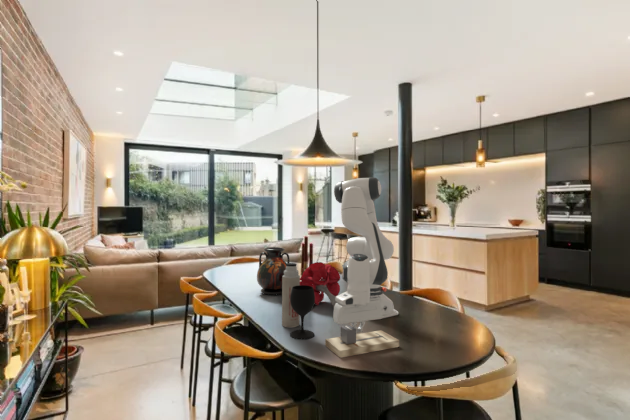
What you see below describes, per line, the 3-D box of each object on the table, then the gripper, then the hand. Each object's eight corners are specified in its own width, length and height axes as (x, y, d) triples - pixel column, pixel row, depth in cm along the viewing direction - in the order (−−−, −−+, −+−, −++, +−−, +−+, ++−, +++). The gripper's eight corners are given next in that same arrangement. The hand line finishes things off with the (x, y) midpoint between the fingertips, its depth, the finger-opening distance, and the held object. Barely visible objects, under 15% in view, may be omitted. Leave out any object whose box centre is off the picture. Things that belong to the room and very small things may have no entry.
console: (381, 336, 146) (381, 330, 146) (399, 346, 135) (399, 340, 135) (325, 345, 135) (325, 338, 135) (340, 357, 124) (340, 350, 124)
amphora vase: (253, 296, 208) (253, 250, 208) (260, 288, 230) (260, 246, 229) (289, 297, 207) (289, 250, 207) (292, 289, 229) (293, 246, 229)
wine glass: (314, 330, 152) (314, 284, 152) (314, 339, 141) (315, 290, 141) (290, 330, 152) (290, 284, 151) (289, 339, 141) (289, 290, 141)
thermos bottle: (301, 326, 156) (301, 264, 156) (283, 328, 154) (284, 265, 154) (297, 321, 164) (297, 261, 164) (280, 322, 162) (281, 262, 162)
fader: (349, 338, 136) (349, 325, 136) (356, 342, 131) (356, 329, 131) (340, 339, 134) (340, 326, 134) (346, 344, 130) (347, 330, 130)
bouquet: (348, 316, 194) (317, 281, 214) (362, 283, 184) (328, 250, 204) (318, 326, 181) (288, 289, 201) (331, 292, 171) (298, 256, 190)
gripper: (376, 292, 142) (376, 326, 142) (331, 297, 133) (331, 333, 133) (385, 296, 136) (385, 331, 136) (339, 301, 127) (338, 339, 128)
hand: (358, 332), depth 135 cm, fingers closed
